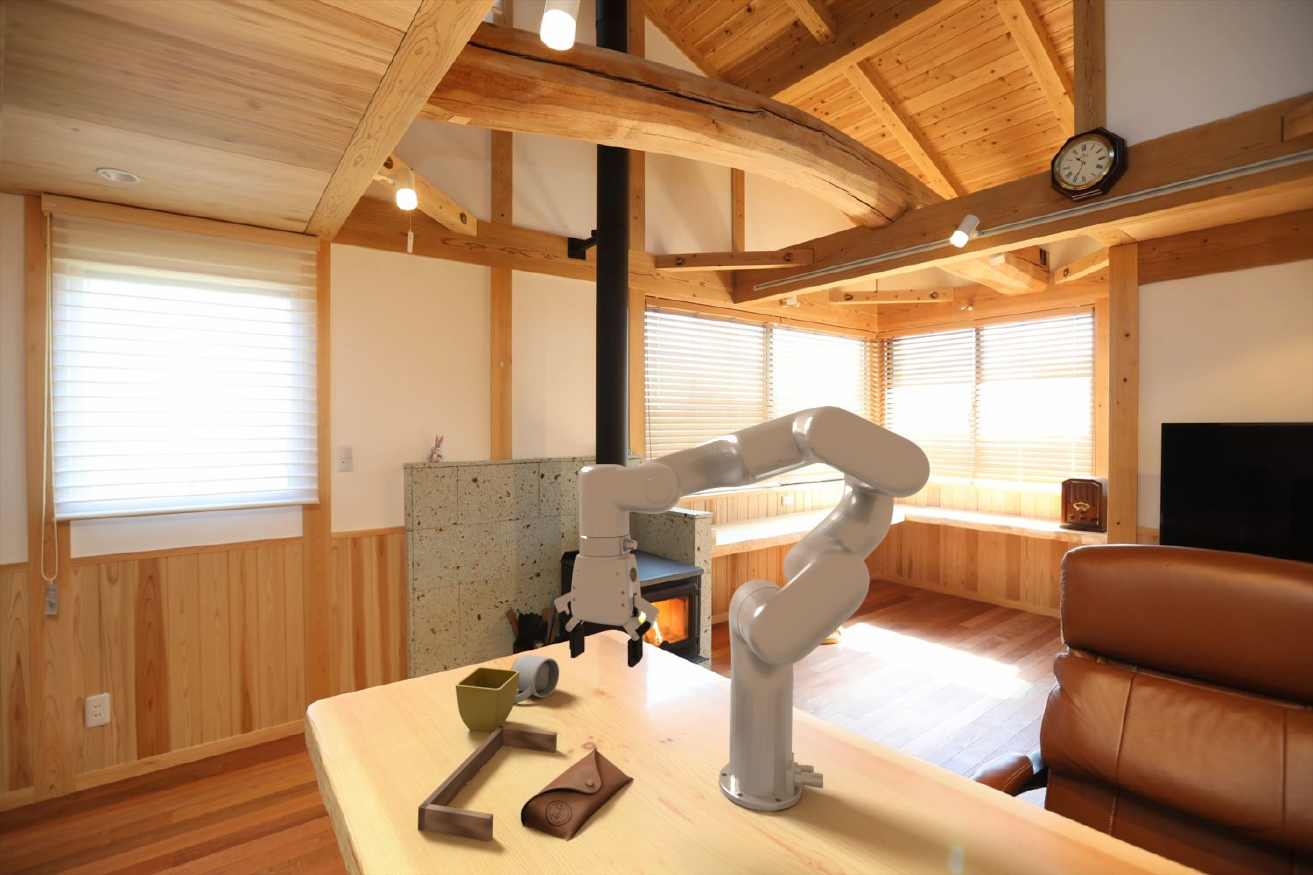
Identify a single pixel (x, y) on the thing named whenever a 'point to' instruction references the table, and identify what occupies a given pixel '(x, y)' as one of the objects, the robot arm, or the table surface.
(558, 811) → the sunglasses case
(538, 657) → the ceramic mug
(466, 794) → the table surface
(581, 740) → the table surface
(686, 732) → the table surface
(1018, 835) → the table surface
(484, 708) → the flower pot
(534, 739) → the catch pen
